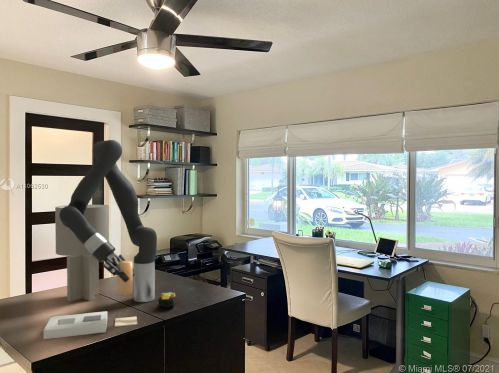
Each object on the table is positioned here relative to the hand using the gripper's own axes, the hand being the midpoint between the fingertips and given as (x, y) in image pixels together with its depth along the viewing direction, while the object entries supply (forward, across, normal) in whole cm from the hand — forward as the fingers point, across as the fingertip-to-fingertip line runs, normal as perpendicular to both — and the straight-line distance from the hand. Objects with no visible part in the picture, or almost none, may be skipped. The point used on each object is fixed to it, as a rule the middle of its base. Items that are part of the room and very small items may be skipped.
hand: (130, 278), depth 147 cm
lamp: (-11, +30, +35) cm, 48 cm away
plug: (+3, 0, +5) cm, 6 cm away
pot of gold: (+19, +21, +5) cm, 29 cm away
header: (0, -7, +24) cm, 25 cm away
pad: (+11, 0, +13) cm, 17 cm away
